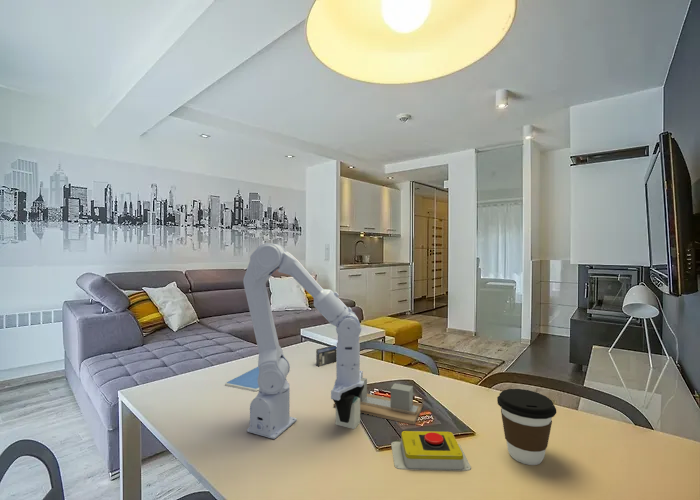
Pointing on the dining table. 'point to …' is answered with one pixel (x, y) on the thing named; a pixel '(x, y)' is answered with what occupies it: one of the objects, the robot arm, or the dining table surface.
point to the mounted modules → (395, 395)
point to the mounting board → (390, 411)
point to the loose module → (351, 415)
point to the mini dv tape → (325, 356)
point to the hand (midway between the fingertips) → (347, 417)
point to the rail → (386, 405)
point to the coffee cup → (526, 423)
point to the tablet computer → (246, 380)
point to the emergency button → (429, 451)
